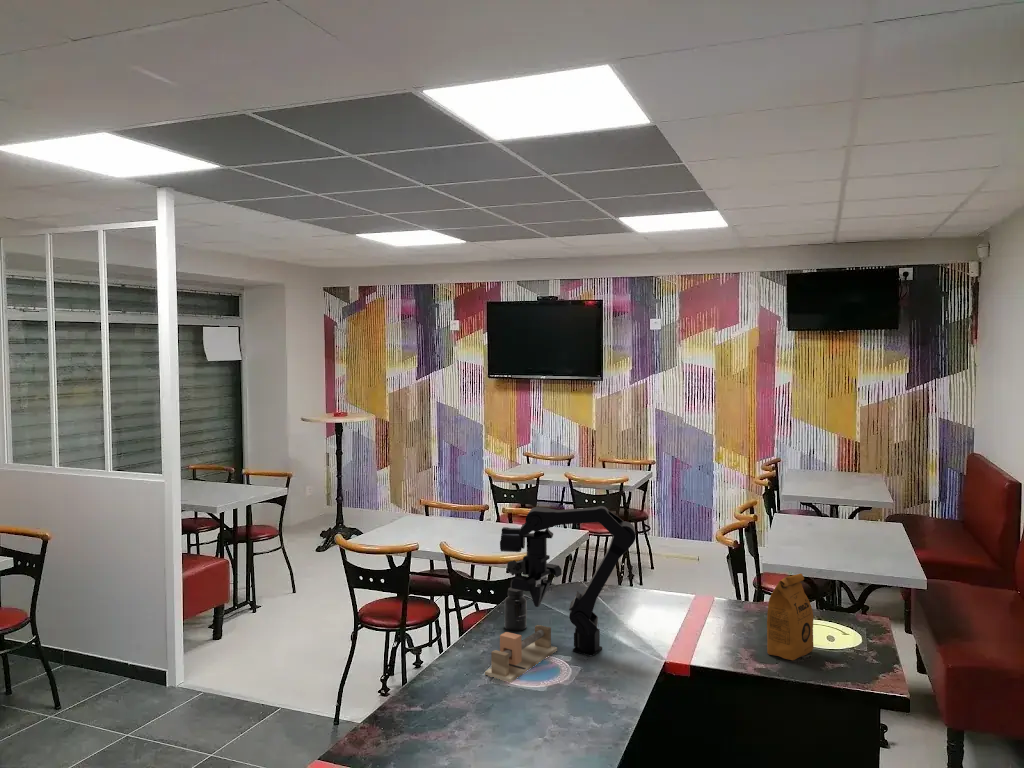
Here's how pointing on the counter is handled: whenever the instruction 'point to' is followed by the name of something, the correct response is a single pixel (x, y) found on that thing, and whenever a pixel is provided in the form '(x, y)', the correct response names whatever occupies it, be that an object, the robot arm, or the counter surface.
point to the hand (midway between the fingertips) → (537, 606)
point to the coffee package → (789, 620)
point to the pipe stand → (532, 654)
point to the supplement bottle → (515, 610)
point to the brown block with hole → (512, 646)
